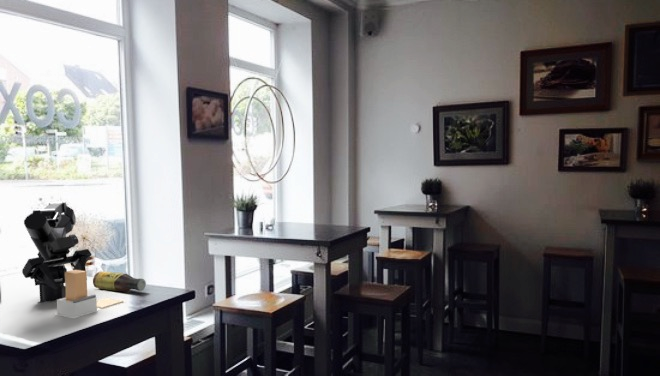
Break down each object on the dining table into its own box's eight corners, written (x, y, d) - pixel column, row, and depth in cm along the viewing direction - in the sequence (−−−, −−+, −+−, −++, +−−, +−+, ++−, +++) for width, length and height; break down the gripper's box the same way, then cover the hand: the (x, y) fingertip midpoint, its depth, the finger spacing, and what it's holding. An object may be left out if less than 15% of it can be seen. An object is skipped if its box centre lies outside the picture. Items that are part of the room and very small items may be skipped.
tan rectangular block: (66, 312, 144) (64, 272, 144) (77, 309, 147) (75, 269, 147) (77, 314, 142) (75, 273, 141) (88, 311, 145) (86, 271, 144)
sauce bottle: (105, 270, 179) (150, 274, 172) (104, 287, 178) (149, 292, 172) (91, 271, 173) (136, 276, 166) (90, 289, 172) (135, 294, 166)
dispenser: (53, 317, 143) (52, 297, 143) (106, 301, 159) (106, 283, 159) (73, 321, 139) (72, 301, 139) (126, 304, 155) (125, 286, 154)
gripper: (25, 231, 138) (51, 273, 134) (86, 223, 155) (111, 260, 150) (11, 256, 143) (35, 298, 138) (72, 246, 159) (95, 283, 154)
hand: (71, 284), depth 145 cm, fingers open, 9 cm apart
